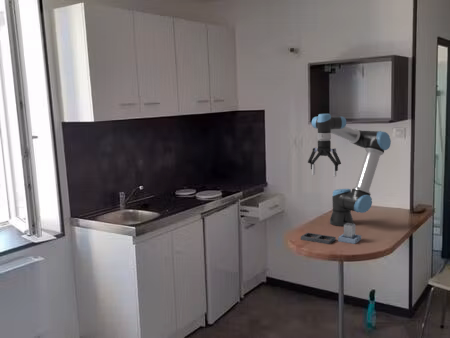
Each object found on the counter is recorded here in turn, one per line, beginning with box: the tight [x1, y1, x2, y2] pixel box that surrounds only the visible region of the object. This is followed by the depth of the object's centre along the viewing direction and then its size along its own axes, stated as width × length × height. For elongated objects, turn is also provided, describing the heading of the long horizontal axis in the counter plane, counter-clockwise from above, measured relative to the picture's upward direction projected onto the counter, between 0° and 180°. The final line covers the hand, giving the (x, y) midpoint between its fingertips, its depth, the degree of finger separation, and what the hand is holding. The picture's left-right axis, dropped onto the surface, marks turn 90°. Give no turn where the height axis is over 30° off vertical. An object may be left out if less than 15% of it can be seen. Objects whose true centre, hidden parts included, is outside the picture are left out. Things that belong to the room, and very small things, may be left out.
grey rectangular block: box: [343, 223, 356, 239], centre depth 263 cm, size 5×5×9 cm
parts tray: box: [337, 233, 362, 245], centre depth 263 cm, size 10×10×2 cm
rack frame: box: [300, 232, 337, 245], centre depth 266 cm, size 9×18×2 cm, turn 53°
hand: (324, 175), depth 270 cm, fingers open, 13 cm apart
